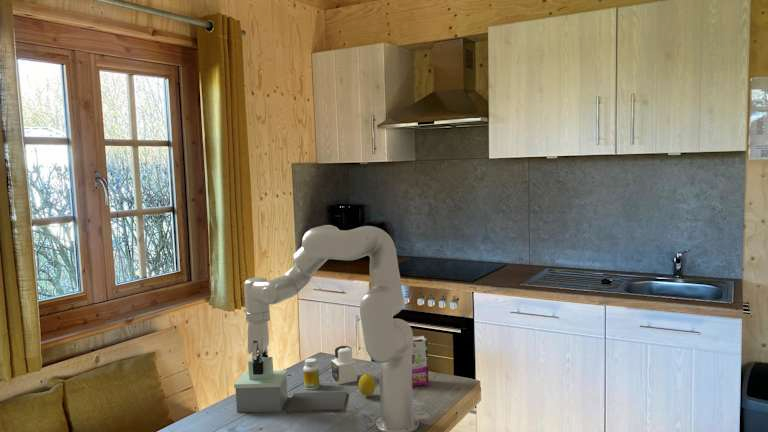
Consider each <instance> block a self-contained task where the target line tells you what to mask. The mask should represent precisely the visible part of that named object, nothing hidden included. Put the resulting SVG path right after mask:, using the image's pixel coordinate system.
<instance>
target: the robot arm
mask: <svg viewBox="0 0 768 432" xmlns="http://www.w3.org/2000/svg"><path fill="white" fill-rule="evenodd" d="M301 240H302V241H301V246H300V247H299V248H298V249H297V250H296V251H295V252H294V254H293V257H292V259H293V263H294V265H293V266H292V267H291V268H290V269H289V270H288V271H287V272H286V273H285V274H283V275H281V276H278V277H275V278H273V279H269V280H268V279H266V278H265V277H259V276H257V277H250V278H248V279H246V280H245V281H244V285H243V288H244V303H245V322H246V323H247V353H248V354H249V355H251V357H252V362H253V374H254V375H261V374H263V362H262V357H269V353H268V351H269V350H268V347H269V344H270V337H269V335H270V333H269V323H268V322H269V321H271V315H270V314H271V312H270V311H271V310H270V305H276V304H279V303H281V302H283V301H286V300H288V299H290V298H293V297H294V296H296V295H297V294H298V293H299V292H300V291H301V290H302V289H304V287H306V285H308V283H310V281H311V279H313V277H314V275H315V273H316V272H317V271H318V270H319V269H320V268H321V267H322V266H323V265H324V264H325V263H326V262H327V261H328V260H335V261H337V260H338V261H355V260H359V259H362V258H364V257H366V256H368V257H369V276H370V283H371V290H368V291H367V292H366V293H365V294H364V295H363V296H362V298H361V300H360V304H359V316H360V323H361V328H362V336H363V341H364V347H365V349H366V352H367V354H368V355H369V357H370V358H371V359H372V360H373V361H375V362H377V363H379V364H378V365H379V367H378V368H379V370H378V371H379V372H378V373H379V397H380V398H379V400H380V401H379V402H380V403H379V404H380V417H378V418H377V420H376V422H375V427H376V429H377V430H378V431H379V432H414V431H416V430H417V429H418V428H419V426H420V422H421V421H422V422H428V421H430V414H429V413H425V411H424V410H423V411H420V410H419V411H417V410H415V406H414V399H413V398H414V397H413V395H414V393H413V390H414V389H413V387H412V350H413V337H414V333H413V330H412V327H411V326H410V324H409V323H408V322H407V321H406V320H404V319H403V318H402V319H401V318H394V316H396V315H397V314H399V313H400V312H401V311H402V309H403V308H404V306H405V305H404V304H405V301H404V292H403V286H402V281H401V274H400V269H399V261H398V256H397V255H398V253H397V248H396V245H395V242H394V240H393V239H392V237H391V236H390V235H389V233H387V232H386V231H385V230H384V229H382V228H379V227H377V226H371V225H365V226H359V227H356V228H353V229H347V230H343V229H342V230H341V229H339V228H338V227H337V226H334V225H331V224H324V225H320V226H316V227H313V228H310V229H309V230H307V231H306V232H304V235H303V237H302V239H301Z"/></svg>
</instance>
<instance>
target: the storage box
mask: <svg viewBox="0 0 768 432" xmlns="http://www.w3.org/2000/svg"><path fill="white" fill-rule="evenodd" d="M287 381H288V380H287V376H286V377H285V379H284V381H283V383H282V385H281V387H259V388H235V398H236V401H235V403H236V412H237V413H250V412H251V413H256V412H257V413H258V412H259V413H261V412H281V411H282V410H283V407H284V406H285V404H286V401H287V399H288V382H287Z"/></svg>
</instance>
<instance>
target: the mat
mask: <svg viewBox="0 0 768 432" xmlns="http://www.w3.org/2000/svg"><path fill="white" fill-rule="evenodd" d="M347 397H348V391H323V392H322V391H320V392H319V391H316V392H315V391H314V392H293V394H292V396H291V399H290V402H289V403H288V406H287V408H286V409H285V412H286V414H292V413H293V414H294V413H296V414H298V413H330V412H331V413H332V412H334V413H335V412H344V409H345V405H346V401H347Z"/></svg>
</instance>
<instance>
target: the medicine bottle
mask: <svg viewBox="0 0 768 432" xmlns="http://www.w3.org/2000/svg"><path fill="white" fill-rule="evenodd" d="M331 379H332V380H334V382H336V383H337V384H338V385H340V386H341V385H344V384H348V383H354V382H357V381H358V368H357V361H356V360H355V359H353V350H352V347H350V346H348V345H341V346H338V347H336V348H335V349H334V358H333V359H331Z"/></svg>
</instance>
